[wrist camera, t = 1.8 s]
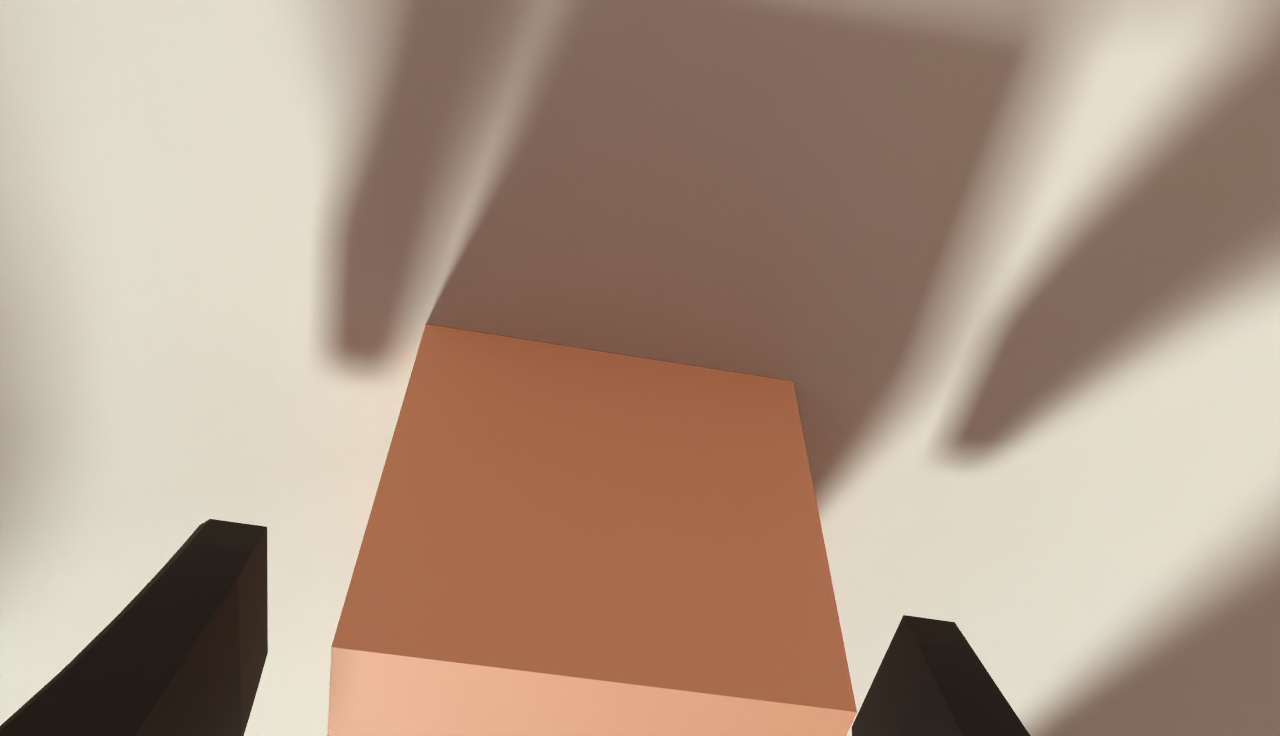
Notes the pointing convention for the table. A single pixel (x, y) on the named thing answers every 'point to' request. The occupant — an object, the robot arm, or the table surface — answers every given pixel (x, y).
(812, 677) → the rust block
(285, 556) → the table surface
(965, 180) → the table surface
